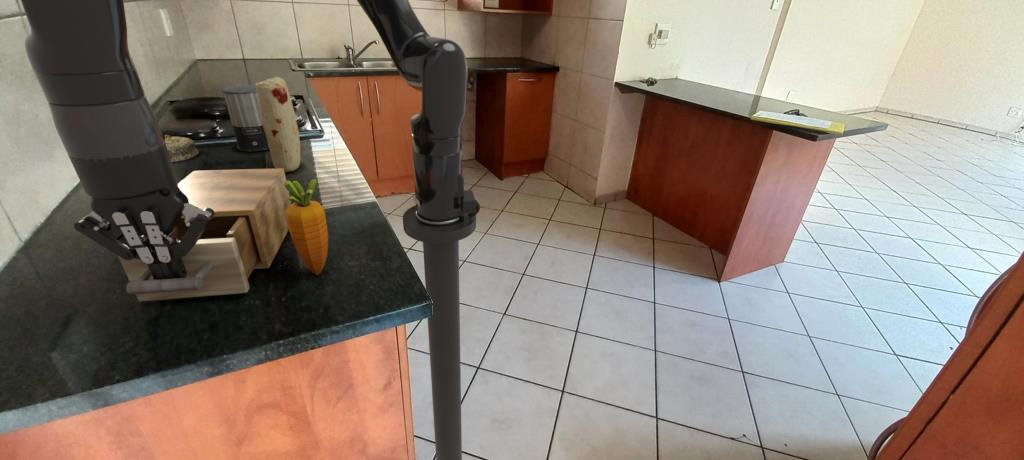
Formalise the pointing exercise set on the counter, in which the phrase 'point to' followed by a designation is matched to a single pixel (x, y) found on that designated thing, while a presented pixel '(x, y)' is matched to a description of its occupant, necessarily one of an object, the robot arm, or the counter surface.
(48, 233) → the counter surface
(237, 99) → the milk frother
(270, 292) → the counter surface
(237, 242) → the drawer
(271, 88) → the food model
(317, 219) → the carrot
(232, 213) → the cabinet
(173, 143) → the cake
